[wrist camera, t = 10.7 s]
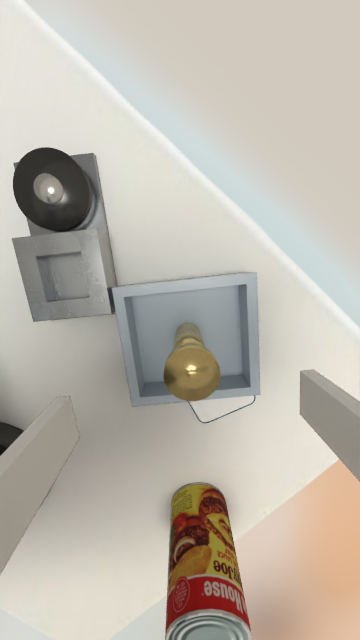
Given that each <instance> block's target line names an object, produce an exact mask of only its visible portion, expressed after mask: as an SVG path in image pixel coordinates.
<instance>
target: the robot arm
mask: <svg viewBox="0 0 360 640" xmlns="http://www.w3.org/2000/svg"><path fill="white" fill-rule="evenodd" d="M300 415H301V416H302V417H303V418H304V419H305V420H306V421H307V423H308V424H309V425H310V426H311V427H312V428H313V429H314V431H315V432H316V433H317V434H318V435H319V436H320V437H321V438H322V440H323V441H324V442H325V443H326V444H327V445H328V446H329V447H330V449H331V450H332V451H333V452H334V453H335V454H336V455H337V457H338V458H339V459H340V460H341V461H342V462H343V463H344V464H345V466H347V468H348V469H349V470H350V471H351V472H352V473H353V475H354V476H355V477H356V478H357V479H358V480H359V481H360V401H358V400H357V399H355V398H354V397H352V396H351V395H350V394H348V393H347V392H345V391H344V390H342V389H341V388H340V387H338V386H337V385H335V384H334V383H332V382H331V381H330V380H328V379H327V378H325V377H324V376H322V375H321V374H319V373H318V372H317V371H315V370H304V371H300ZM79 438H80V437H79V432H78V428H77V424H76V420H75V416H74V411H73V407H72V403H71V399H70V396H65V397H56V398H55V399H54V400H53V401H52V403H51V404H50V405H49V406H48V407H47V408H46V409H45V410H44V411H43V412H42V413H41V414H40V415H39V416H38V417H37V418H36V419H35V420H34V421H33V422H32V423H31V425H30V426H29V427H28V428H27V429H26V430H25V431H24V432H23V431H21V430H19V429H17V428H14V427H12V426H9V425H5V424H1V423H0V574H1V573H2V571H3V569H4V567H5V566H6V564H7V562H8V561H9V559H10V557H11V555H12V554H13V552H14V550H15V549H16V547H17V545H18V543H19V542H20V540H21V538H22V536H23V535H24V533H25V531H26V530H27V528H28V526H29V524H30V523H31V521H32V519H33V517H34V516H35V514H36V512H37V511H38V509H39V508H40V506H41V505H42V503H43V501H44V500H45V498H46V496H47V495H48V493H49V491H50V489H51V486H52V485H53V483H54V481H55V479H56V478H57V476H58V474H59V473H60V471H61V469H62V467H63V466H64V464H65V462H66V460H67V459H68V457H69V455H70V454H71V452H72V450H73V448H74V447H75V445H76V443H77V441H78V440H79Z"/></svg>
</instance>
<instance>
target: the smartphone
mask: <svg viewBox="0 0 360 640" xmlns="http://www.w3.org/2000/svg"><path fill="white" fill-rule="evenodd" d="M254 400H255V395H253V396H243V397H232V398H221V399H210V400H199V401H189V404H190V406H191V407H192V409H193V411H194V413H195V414H196V416H197V418H198V419H199V421H200V422H202V423H209V422H211V421H213V420H216V419H218V418H220V417H223V416H225V415H227V414H230V413H232V412H234V411H237V410H239V409H241V408H243V407H246V406H248V405H250V404H252V403H253V402H254Z"/></svg>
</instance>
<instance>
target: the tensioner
mask: <svg viewBox="0 0 360 640" xmlns="http://www.w3.org/2000/svg"><path fill="white" fill-rule="evenodd" d="M14 167H15V173H14V177H13V190H14V195H15V199H16V201H17V204H18V206H19V208H20V209H21V211H22V212H23V214H24V215H25V216H26V217H27V221H28V226H29V230H30V234H31V236H28V237H20V238H12V241H13V245H14V249H15V253H16V256H17V260H18V264H19V268H20V272H21V276H22V280H23V284H24V287H25V291H26V295H27V299H28V303H29V307H30V311H31V315H32V318H33V322H35V321H45V320H59V319H68V318H78V317H87V316H97V315H106V314H116V310H115V304H114V298H113V292H112V288H114V287H117V282H116V276H115V270H114V264H113V258H112V252H111V246H110V240H109V234H108V228H107V222H106V216H105V210H104V204H103V198H102V192H101V186H100V180H99V174H98V168H97V162H96V156H95V155H94V153H88V154H80V155H73V156H69V155H67V154H66V153H64V152H62V151H60V150H57V149H54V148H38V149H35V150H32V151H31V152H29V153H27V154H26V155H25V156H24V157H23V158H22V159H21V160H20V162H17V163H14Z"/></svg>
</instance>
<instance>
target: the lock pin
mask: <svg viewBox="0 0 360 640" xmlns="http://www.w3.org/2000/svg"><path fill="white" fill-rule="evenodd" d="M163 376H164V382H165V385H166V387H167V389H168V390H169V391H170V392H171V394H173V395H174V396H175V397H177V398H179V399H181V400H184V401H199V400H203V399H205V398H207V397H209V396H210V395H211V394H212V393H213V392H214V391H215V390H216V388H217V387H218V385H219V382H220V377H221V373H220V368H219V365H218V362H217V360H216V358H215V356H214V354H213V353H212V352H211V351H210V350H209V349H208V348H206V347H205V344H204V341H203V338H202V334H201V331H200V329H199V328H198V327H197V326H196V325H195V324H192V323H184V324H182V325H180V326H179V327H178V329H177V330H176V333H175V342H174V350H173V351H172V352H171V353H170V354H169V355H168V357H167V359H166V363H165V368H164V374H163Z"/></svg>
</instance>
